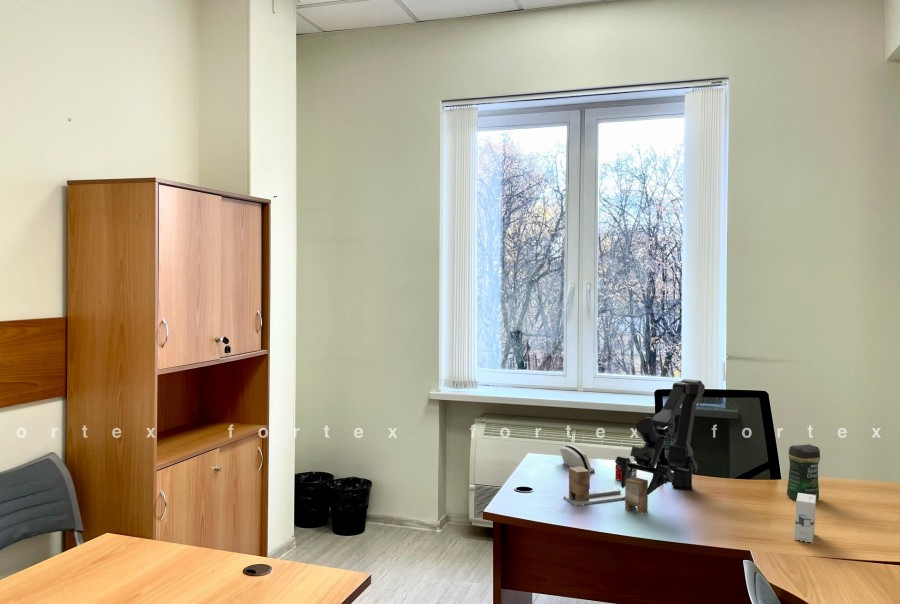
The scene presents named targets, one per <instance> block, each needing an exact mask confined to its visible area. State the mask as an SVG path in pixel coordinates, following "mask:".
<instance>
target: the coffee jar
mask: <svg viewBox="0 0 900 604" xmlns="http://www.w3.org/2000/svg"><path fill="white" fill-rule="evenodd" d="M787 454H788V459H789V471H788V479H787V489H786V495H787V497H789V498H790V499H792V500H794V501H796V500H797V495H798V493H803V494H810V495H816V501H818V500H819V498H820V489H819V488H820V485H819V463H820V461H821V450H820V448H819V447H818V446H816V445H812V444H809V443H808V444H797V445H791V446H789V447H788V453H787Z"/></svg>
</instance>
